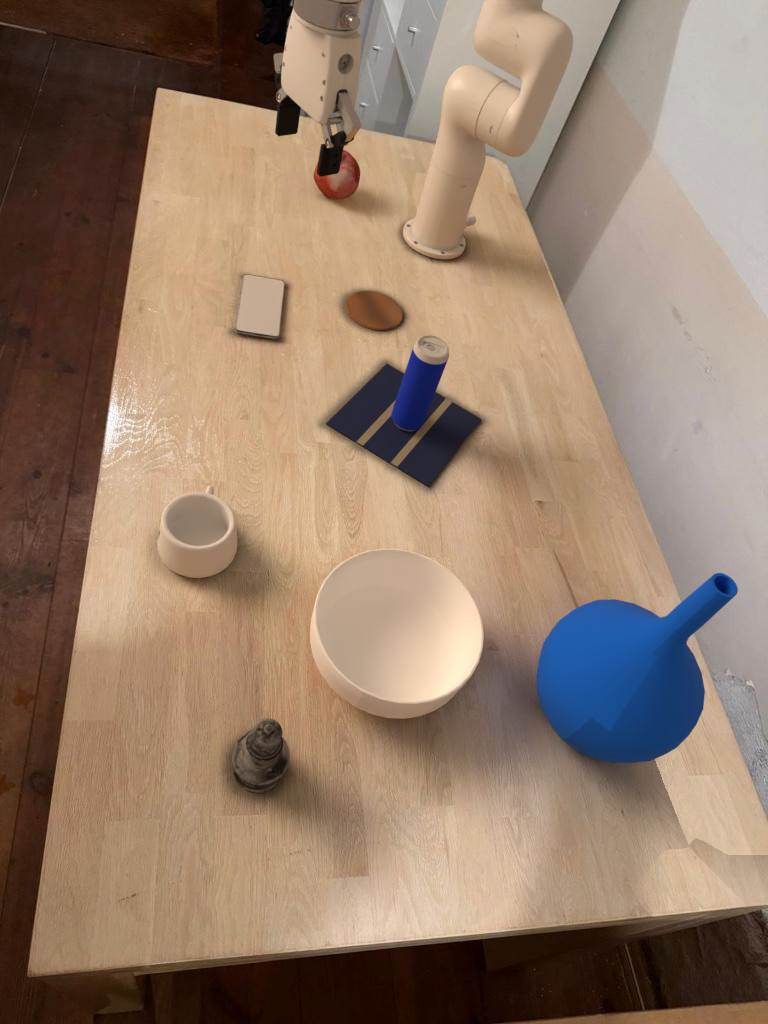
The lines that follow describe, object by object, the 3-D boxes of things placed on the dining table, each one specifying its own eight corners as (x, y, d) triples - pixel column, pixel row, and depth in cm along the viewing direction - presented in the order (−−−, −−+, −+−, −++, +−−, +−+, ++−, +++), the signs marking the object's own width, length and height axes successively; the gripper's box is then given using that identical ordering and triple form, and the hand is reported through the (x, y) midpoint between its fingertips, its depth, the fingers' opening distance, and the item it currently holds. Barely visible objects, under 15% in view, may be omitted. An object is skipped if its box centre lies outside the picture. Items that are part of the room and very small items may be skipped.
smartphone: (234, 330, 117) (243, 273, 126) (234, 333, 118) (243, 275, 127) (279, 338, 118) (285, 280, 127) (278, 340, 119) (284, 283, 128)
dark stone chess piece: (231, 739, 80) (238, 695, 70) (285, 739, 81) (300, 696, 72) (228, 796, 76) (236, 757, 67) (286, 795, 78) (301, 756, 68)
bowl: (483, 630, 95) (506, 597, 88) (425, 764, 83) (447, 738, 76) (348, 559, 97) (361, 521, 90) (272, 680, 85) (280, 647, 78)
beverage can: (426, 416, 116) (455, 342, 104) (417, 437, 112) (445, 364, 101) (396, 403, 116) (421, 328, 104) (385, 424, 113) (410, 349, 101)
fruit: (335, 176, 152) (344, 127, 145) (365, 201, 149) (376, 153, 142) (300, 185, 148) (307, 135, 140) (331, 211, 144) (340, 162, 137)
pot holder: (386, 364, 121) (386, 363, 121) (480, 420, 118) (481, 418, 118) (325, 424, 110) (326, 423, 110) (428, 487, 107) (428, 485, 107)
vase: (680, 766, 90) (857, 658, 67) (550, 801, 84) (694, 696, 60) (614, 631, 99) (747, 497, 76) (492, 653, 93) (598, 514, 70)
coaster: (375, 286, 133) (375, 284, 133) (413, 318, 130) (414, 317, 130) (334, 303, 128) (334, 301, 127) (373, 337, 125) (373, 335, 124)
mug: (228, 587, 91) (231, 561, 86) (147, 572, 89) (146, 545, 85) (247, 510, 98) (250, 482, 93) (173, 496, 97) (173, 466, 92)
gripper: (399, 41, 82) (367, 185, 95) (312, -28, 89) (294, 116, 102) (345, 45, 78) (320, 195, 92) (258, -27, 85) (246, 122, 98)
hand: (306, 153), depth 97 cm, fingers open, 9 cm apart
